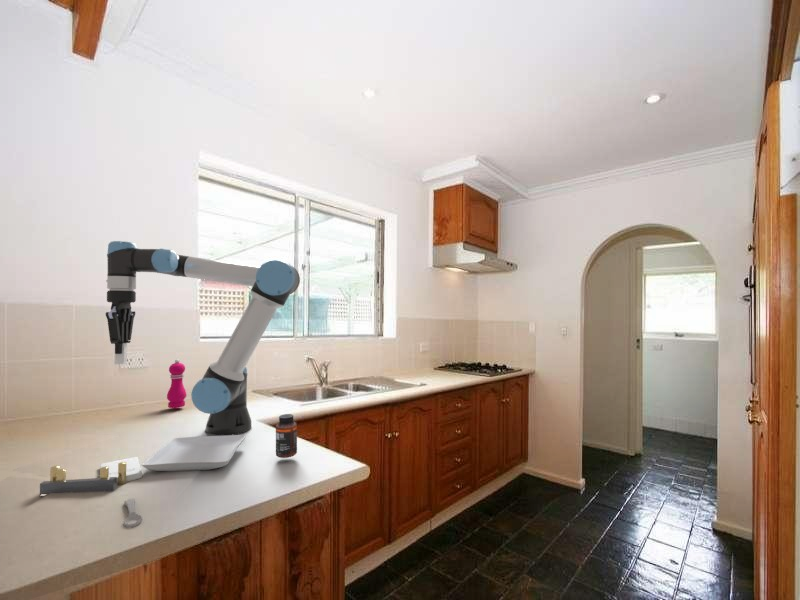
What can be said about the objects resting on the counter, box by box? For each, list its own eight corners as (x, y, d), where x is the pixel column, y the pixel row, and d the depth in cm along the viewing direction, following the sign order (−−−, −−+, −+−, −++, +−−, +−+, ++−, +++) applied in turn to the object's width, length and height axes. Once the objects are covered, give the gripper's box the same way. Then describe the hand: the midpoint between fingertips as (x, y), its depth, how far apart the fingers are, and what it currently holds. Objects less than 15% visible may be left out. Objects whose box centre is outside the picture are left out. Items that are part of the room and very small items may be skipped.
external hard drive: (137, 462, 106) (142, 478, 96) (99, 470, 101) (100, 487, 91) (137, 456, 106) (142, 471, 96) (100, 463, 101) (100, 480, 91)
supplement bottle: (295, 449, 116) (296, 412, 116) (298, 457, 110) (298, 417, 110) (274, 452, 114) (275, 413, 114) (276, 460, 108) (276, 419, 108)
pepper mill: (180, 408, 161) (180, 360, 161) (162, 408, 161) (163, 360, 161) (189, 404, 168) (190, 358, 168) (173, 403, 168) (174, 358, 168)
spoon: (124, 533, 74) (124, 523, 74) (120, 507, 83) (121, 498, 83) (142, 528, 76) (143, 517, 76) (137, 503, 85) (137, 494, 85)
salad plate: (246, 444, 121) (246, 433, 121) (228, 473, 100) (228, 459, 100) (173, 447, 118) (173, 436, 118) (139, 478, 97) (139, 465, 97)
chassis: (127, 482, 94) (127, 461, 94) (115, 492, 89) (116, 470, 89) (53, 486, 92) (53, 465, 92) (37, 497, 87) (37, 474, 87)
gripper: (119, 290, 129) (118, 361, 129) (96, 289, 117) (94, 367, 116) (144, 291, 131) (143, 360, 130) (123, 289, 118) (122, 366, 117)
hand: (120, 363), depth 123 cm, fingers closed
